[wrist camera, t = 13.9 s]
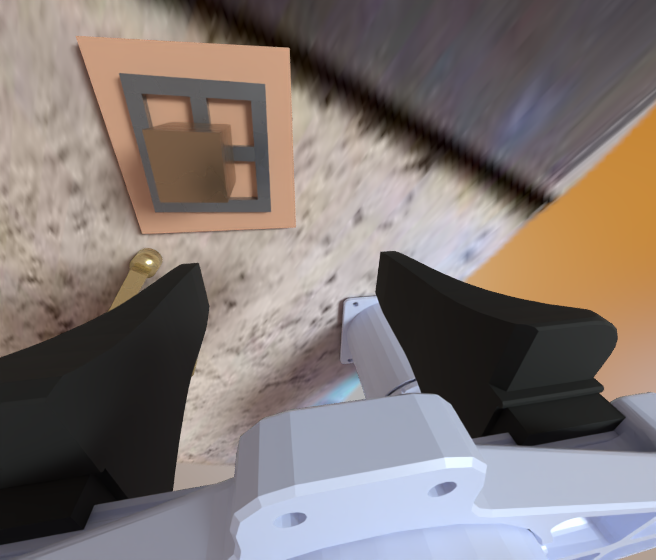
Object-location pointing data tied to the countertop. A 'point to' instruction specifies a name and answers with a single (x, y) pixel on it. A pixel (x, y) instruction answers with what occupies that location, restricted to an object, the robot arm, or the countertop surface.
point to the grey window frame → (198, 146)
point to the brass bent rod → (139, 276)
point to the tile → (196, 63)
